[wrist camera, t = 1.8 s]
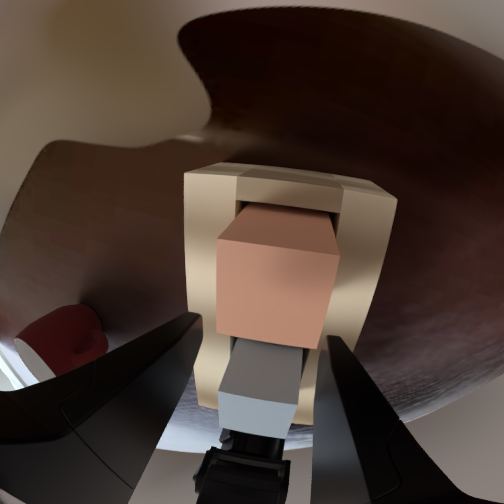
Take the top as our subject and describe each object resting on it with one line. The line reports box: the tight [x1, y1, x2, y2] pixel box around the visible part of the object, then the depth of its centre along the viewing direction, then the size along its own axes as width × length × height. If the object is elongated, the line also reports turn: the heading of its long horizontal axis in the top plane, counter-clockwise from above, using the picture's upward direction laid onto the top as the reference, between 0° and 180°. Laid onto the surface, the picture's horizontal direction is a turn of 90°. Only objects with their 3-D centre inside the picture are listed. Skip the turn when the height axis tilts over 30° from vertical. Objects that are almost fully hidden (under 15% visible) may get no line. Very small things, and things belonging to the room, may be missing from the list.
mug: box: [14, 304, 109, 382], centre depth 23 cm, size 11×8×10 cm
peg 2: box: [218, 337, 303, 439], centre depth 15 cm, size 4×4×6 cm
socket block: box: [184, 162, 398, 425], centre depth 18 cm, size 18×10×6 cm, turn 176°
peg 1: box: [216, 201, 340, 349], centre depth 12 cm, size 4×4×6 cm
